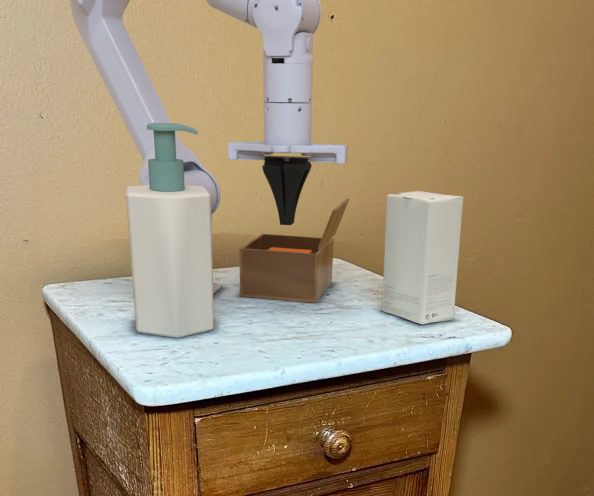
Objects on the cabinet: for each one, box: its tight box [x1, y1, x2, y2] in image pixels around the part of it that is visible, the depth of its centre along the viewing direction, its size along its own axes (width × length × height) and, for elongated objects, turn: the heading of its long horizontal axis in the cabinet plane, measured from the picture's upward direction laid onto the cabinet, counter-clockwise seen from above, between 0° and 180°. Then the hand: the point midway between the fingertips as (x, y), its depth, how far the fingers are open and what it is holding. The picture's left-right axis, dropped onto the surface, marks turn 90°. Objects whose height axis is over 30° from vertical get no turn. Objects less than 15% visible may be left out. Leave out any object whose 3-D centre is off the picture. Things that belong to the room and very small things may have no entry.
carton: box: [239, 233, 335, 304], centre depth 110 cm, size 12×11×6 cm
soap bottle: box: [125, 122, 215, 339], centre depth 88 cm, size 10×9×22 cm
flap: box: [318, 197, 350, 250], centre depth 105 cm, size 12×5×1 cm
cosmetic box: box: [381, 190, 465, 325], centre depth 97 cm, size 8×6×15 cm
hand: (287, 223), depth 98 cm, fingers closed
